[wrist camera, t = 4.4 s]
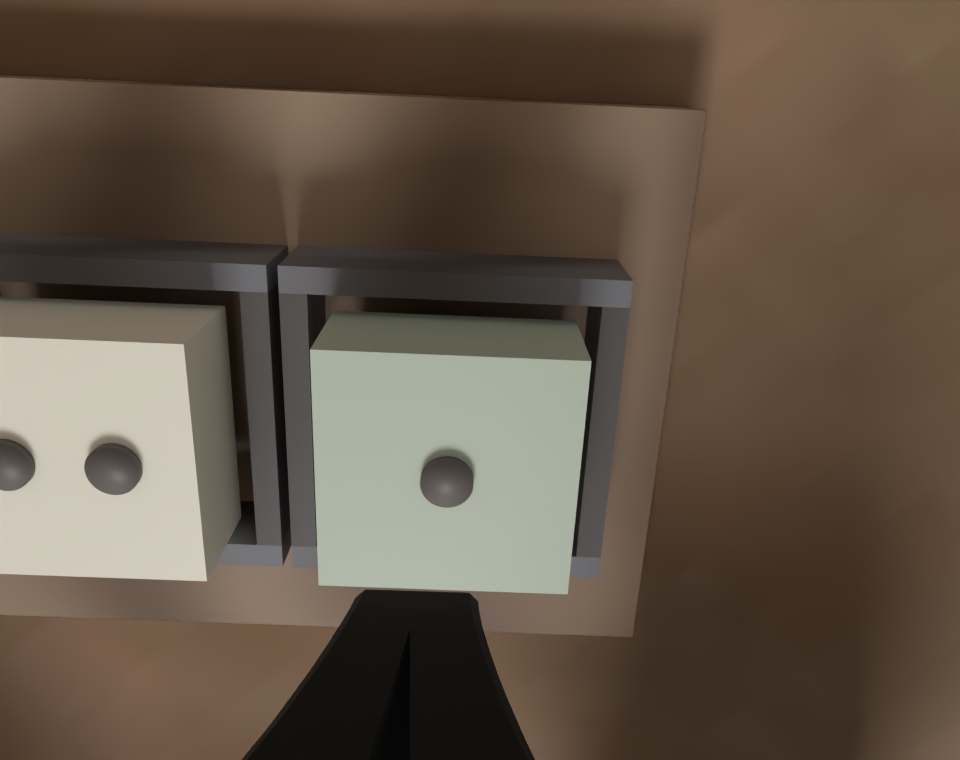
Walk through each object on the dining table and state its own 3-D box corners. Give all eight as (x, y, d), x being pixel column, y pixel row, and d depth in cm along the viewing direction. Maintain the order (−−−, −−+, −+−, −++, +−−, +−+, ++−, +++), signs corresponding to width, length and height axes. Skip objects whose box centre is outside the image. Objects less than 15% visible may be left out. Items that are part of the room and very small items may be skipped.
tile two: (225, 305, 15) (179, 347, 12) (241, 516, 16) (203, 586, 14) (-22, 295, 14) (-110, 335, 12) (20, 508, 16) (-52, 577, 14)
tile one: (576, 320, 15) (593, 364, 12) (556, 528, 16) (568, 599, 14) (333, 310, 15) (307, 352, 12) (338, 520, 16) (316, 590, 14)
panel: (687, 106, 16) (735, 115, 13) (622, 598, 20) (646, 688, 17) (-420, 55, 16) (-632, 51, 13) (-243, 567, 20) (-371, 654, 17)
